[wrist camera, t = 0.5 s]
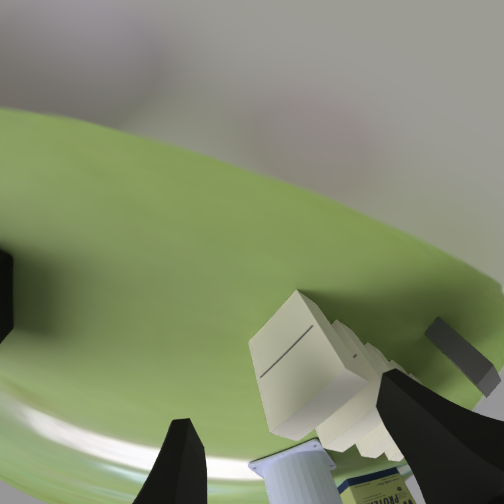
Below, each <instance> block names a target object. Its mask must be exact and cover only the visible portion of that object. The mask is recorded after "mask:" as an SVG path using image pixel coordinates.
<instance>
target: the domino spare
mask: <svg viewBox="0 0 504 504" xmlns="http://www.w3.org/2000/svg"><path fill="white" fill-rule="evenodd" d="M424 334H425V335H426V336H427V337H428V338H429V339H430V340H431V341H432V342H433V343H434V344H435V345H436V346H437V347H438V348H439V349H440V350H441V352H442V353H443V354H445V355H446V356H447V357H448V358H449V359H450V360H451V361H452V362H453V363H454V364H455V365H456V366H457V367H458V368H459V369H460V370H461V372H462V373H463V374H464V375H465V376H466V377H467V378H468V379H469V380H470V381H471V382H472V383H473V384H474V385H475V386H476V387H477V388H478V389H479V390H480V391H481V392H482V393H483V394H484V395H485V396H486V398H487V397H488V396H489V395H490V393H491V392H492V391H493V390H494V389H495V388H496V386H497V385H498V384H499V383H500V382H501V379H500V377H499V375H498V373H497V371H496V369H495V367H494V365H493V364H492V363H491V362H490V361H489V360H488V359H486V358H485V357H484V356H483V355H482V354H481V353H480V352H479V351H478V350H476V349H475V348H474V347H473V346H472V345H471V344H470V343H469V342H467V341H466V340H465V339H464V338H463V337H462V336H460V335H459V334H458V333H457V332H456V331H455V330H453V329H452V328H451V327H450V326H449V325H447V324H446V323H445V322H444V321H443V320H442V319H440V318H439V317H437V319H436V320H435V321H434V322H433V324H432V325H431V326H430V327H429V328H428V330H427V331H426V332H425V333H424Z"/></svg>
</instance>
